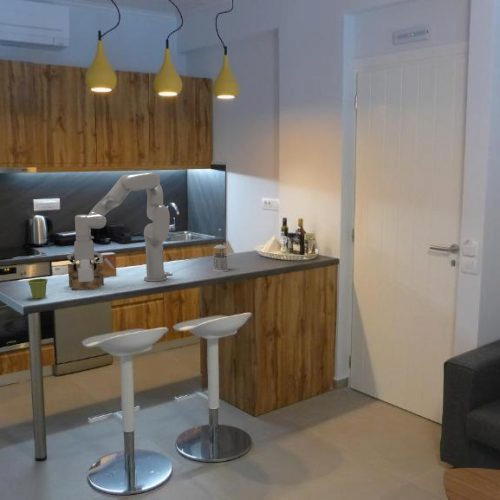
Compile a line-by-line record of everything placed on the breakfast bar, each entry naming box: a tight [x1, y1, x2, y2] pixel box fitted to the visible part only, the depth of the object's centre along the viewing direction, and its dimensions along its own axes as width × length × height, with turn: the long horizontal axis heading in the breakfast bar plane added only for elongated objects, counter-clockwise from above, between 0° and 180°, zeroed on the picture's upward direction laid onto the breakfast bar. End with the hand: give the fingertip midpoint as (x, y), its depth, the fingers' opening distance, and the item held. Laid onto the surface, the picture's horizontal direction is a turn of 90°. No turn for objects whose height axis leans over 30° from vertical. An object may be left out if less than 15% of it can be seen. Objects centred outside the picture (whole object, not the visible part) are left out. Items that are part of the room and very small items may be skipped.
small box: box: [98, 251, 117, 278], centre depth 357 cm, size 8×6×13 cm
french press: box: [212, 228, 229, 272], centre depth 369 cm, size 10×12×25 cm
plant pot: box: [27, 278, 49, 300], centre depth 306 cm, size 9×9×9 cm
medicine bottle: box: [78, 259, 94, 282], centre depth 325 cm, size 7×7×12 cm
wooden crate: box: [67, 262, 105, 291], centre depth 327 cm, size 18×10×12 cm, turn 102°
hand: (85, 270), depth 325 cm, fingers open, 9 cm apart
